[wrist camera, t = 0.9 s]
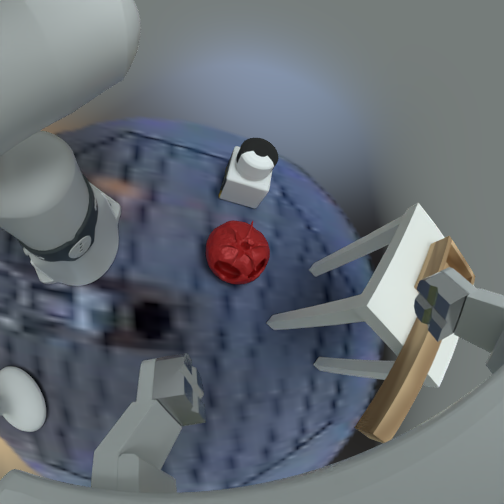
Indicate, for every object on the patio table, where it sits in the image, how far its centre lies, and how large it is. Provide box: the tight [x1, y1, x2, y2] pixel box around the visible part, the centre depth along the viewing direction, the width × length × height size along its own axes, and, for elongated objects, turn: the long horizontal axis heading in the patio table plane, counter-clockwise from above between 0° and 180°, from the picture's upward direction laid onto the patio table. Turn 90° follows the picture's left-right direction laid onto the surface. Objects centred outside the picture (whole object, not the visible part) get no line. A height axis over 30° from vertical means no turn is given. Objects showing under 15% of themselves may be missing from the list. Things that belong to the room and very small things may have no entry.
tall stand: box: [267, 203, 474, 387], centre depth 36 cm, size 14×15×26 cm
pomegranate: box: [206, 221, 270, 284], centre depth 43 cm, size 10×10×9 cm
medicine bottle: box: [219, 138, 278, 209], centre depth 46 cm, size 7×7×12 cm
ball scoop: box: [354, 236, 475, 443], centre depth 21 cm, size 6×20×3 cm, turn 139°
